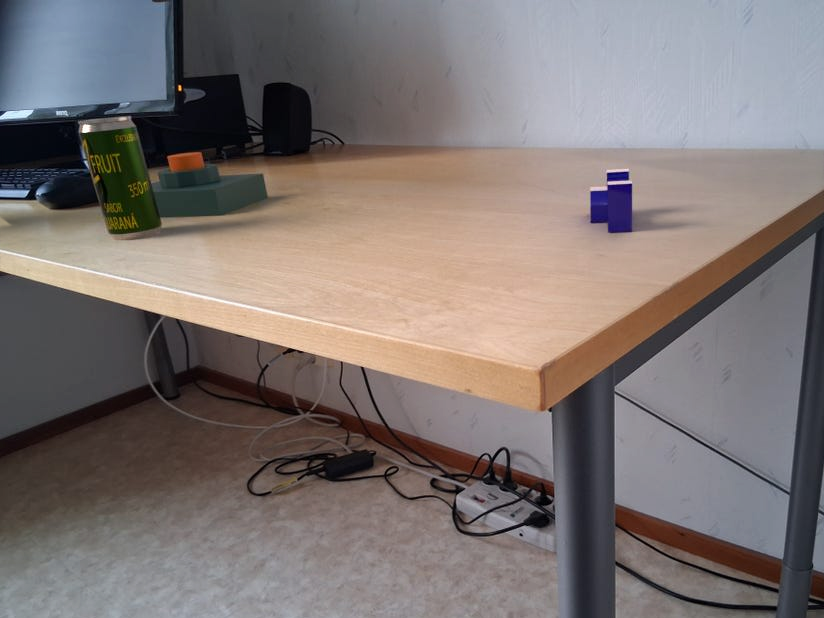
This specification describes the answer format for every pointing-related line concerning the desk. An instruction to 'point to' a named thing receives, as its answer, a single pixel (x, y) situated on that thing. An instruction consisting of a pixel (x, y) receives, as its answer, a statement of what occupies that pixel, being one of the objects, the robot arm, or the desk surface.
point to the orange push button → (186, 161)
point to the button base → (205, 192)
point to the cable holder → (613, 201)
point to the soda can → (120, 177)
